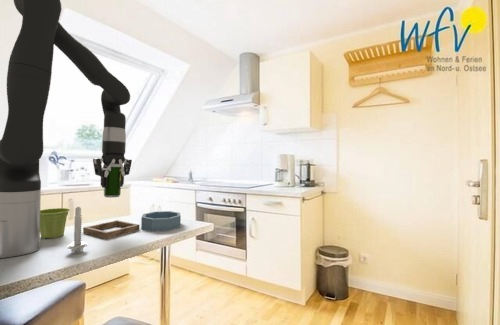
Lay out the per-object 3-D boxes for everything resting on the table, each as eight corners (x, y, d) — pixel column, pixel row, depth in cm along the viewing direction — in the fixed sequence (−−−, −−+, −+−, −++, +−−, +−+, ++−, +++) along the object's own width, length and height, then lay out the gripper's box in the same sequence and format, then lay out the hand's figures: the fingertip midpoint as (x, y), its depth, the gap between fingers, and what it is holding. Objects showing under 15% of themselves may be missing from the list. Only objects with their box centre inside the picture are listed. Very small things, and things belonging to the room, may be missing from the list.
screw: (90, 249, 75) (80, 255, 70) (73, 249, 75) (62, 255, 70) (91, 205, 75) (81, 208, 70) (74, 204, 75) (63, 208, 70)
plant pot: (41, 242, 80) (41, 214, 80) (29, 237, 85) (29, 211, 85) (74, 235, 88) (75, 210, 88) (61, 230, 93) (62, 207, 93)
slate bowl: (160, 233, 93) (160, 220, 93) (133, 227, 100) (134, 215, 100) (187, 224, 106) (187, 213, 106) (162, 220, 113) (162, 210, 113)
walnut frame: (106, 239, 85) (106, 233, 85) (83, 232, 91) (83, 227, 91) (139, 230, 96) (139, 224, 96) (117, 225, 102) (117, 220, 102)
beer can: (106, 198, 90) (107, 163, 90) (101, 196, 94) (103, 163, 94) (122, 197, 93) (123, 164, 93) (117, 195, 97) (118, 163, 97)
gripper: (101, 138, 85) (99, 189, 85) (137, 142, 98) (136, 186, 98) (88, 138, 89) (86, 187, 89) (124, 142, 102) (123, 185, 102)
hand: (112, 186), depth 93 cm, fingers closed on beer can, 5 cm apart
